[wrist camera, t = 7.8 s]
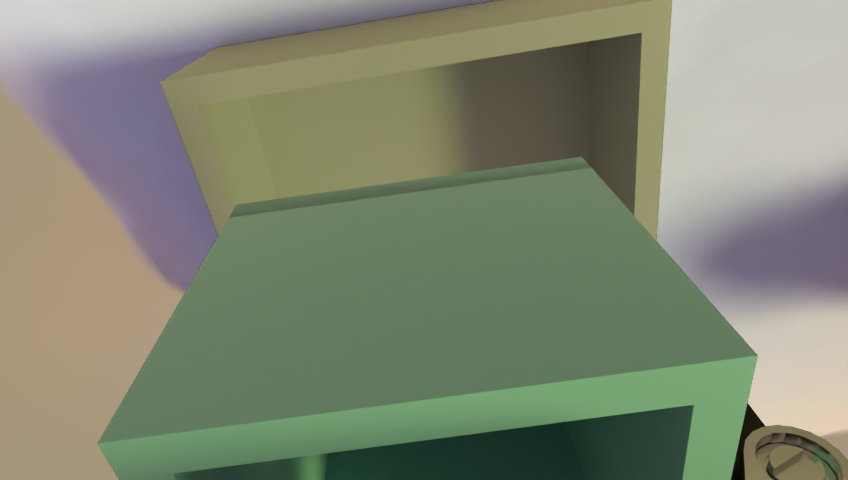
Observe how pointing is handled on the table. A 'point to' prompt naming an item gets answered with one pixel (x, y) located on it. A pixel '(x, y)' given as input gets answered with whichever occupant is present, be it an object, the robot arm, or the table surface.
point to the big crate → (432, 101)
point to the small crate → (439, 343)
